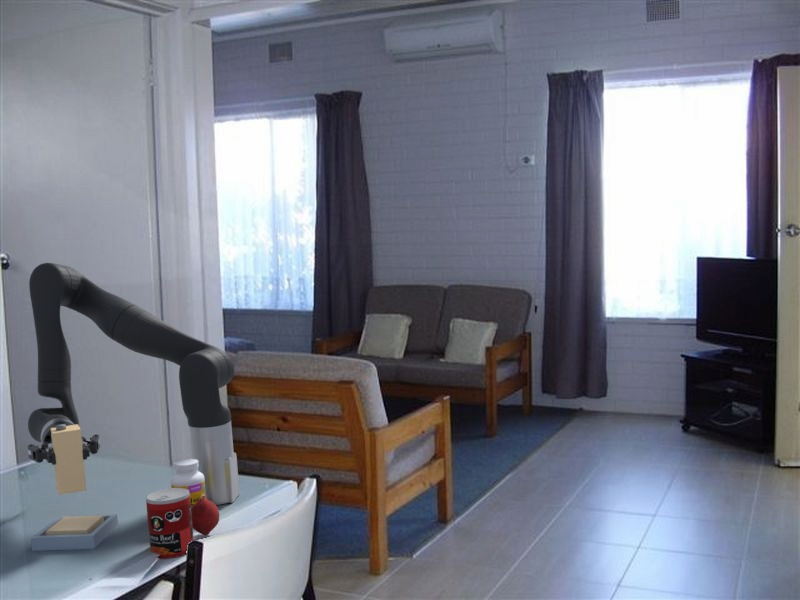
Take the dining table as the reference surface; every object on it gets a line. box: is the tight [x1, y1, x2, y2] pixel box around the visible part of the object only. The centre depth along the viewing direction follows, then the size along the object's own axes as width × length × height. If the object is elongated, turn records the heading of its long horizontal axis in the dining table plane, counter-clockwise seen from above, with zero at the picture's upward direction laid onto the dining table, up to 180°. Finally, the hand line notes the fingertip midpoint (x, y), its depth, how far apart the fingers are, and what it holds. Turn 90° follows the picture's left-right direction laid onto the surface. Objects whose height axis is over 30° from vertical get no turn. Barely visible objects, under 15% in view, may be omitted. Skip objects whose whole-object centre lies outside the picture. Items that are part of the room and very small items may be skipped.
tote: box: [30, 513, 119, 552], centre depth 174 cm, size 12×12×4 cm
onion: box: [191, 495, 220, 536], centre depth 174 cm, size 6×6×8 cm
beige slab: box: [46, 514, 104, 536], centre depth 174 cm, size 8×8×3 cm
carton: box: [51, 424, 87, 496], centre depth 173 cm, size 5×5×13 cm
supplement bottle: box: [170, 458, 206, 508], centre depth 181 cm, size 7×7×13 cm
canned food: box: [145, 487, 194, 560], centre depth 166 cm, size 8×8×11 cm
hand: (69, 456), depth 171 cm, fingers closed on carton, 5 cm apart
